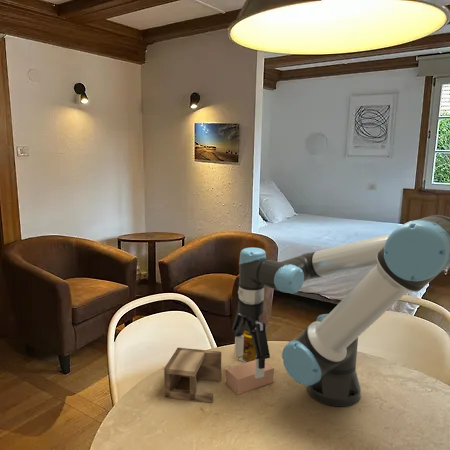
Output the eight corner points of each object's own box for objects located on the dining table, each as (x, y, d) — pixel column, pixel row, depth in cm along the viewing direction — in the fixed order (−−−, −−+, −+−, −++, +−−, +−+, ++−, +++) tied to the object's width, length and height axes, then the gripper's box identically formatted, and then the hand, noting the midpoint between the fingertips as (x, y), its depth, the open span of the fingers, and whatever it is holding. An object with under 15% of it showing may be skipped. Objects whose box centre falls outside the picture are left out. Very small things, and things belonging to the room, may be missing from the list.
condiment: (237, 360, 142) (238, 327, 140) (248, 349, 149) (248, 318, 147) (257, 365, 138) (258, 331, 136) (267, 354, 146) (268, 322, 144)
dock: (221, 378, 130) (221, 351, 129) (212, 402, 118) (212, 373, 116) (178, 373, 133) (177, 347, 131) (164, 397, 120) (164, 368, 119)
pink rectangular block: (260, 372, 134) (260, 358, 134) (273, 383, 129) (273, 368, 128) (225, 383, 128) (225, 368, 127) (237, 395, 122) (238, 379, 121)
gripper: (222, 288, 133) (221, 349, 137) (260, 318, 111) (257, 390, 115) (243, 285, 136) (241, 345, 140) (284, 313, 114) (280, 384, 118)
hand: (248, 365), depth 128 cm, fingers open, 13 cm apart
